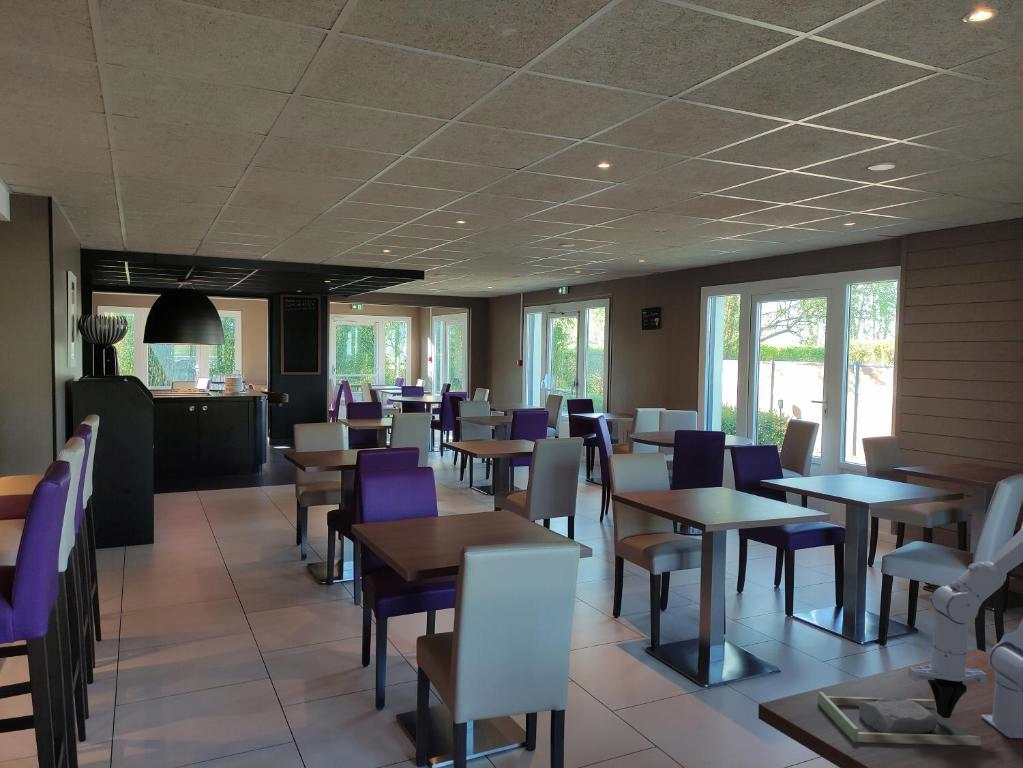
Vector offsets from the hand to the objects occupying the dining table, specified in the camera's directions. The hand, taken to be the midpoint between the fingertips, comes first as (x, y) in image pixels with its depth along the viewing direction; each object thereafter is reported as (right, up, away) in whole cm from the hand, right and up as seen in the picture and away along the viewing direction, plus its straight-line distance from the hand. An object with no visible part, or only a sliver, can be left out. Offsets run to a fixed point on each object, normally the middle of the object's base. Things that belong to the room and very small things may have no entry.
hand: (943, 715), depth 142 cm
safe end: (-22, -1, -1) cm, 22 cm away
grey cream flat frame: (-9, -2, 0) cm, 10 cm away
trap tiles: (-1, -2, 0) cm, 2 cm away
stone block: (-10, -2, 0) cm, 10 cm away
